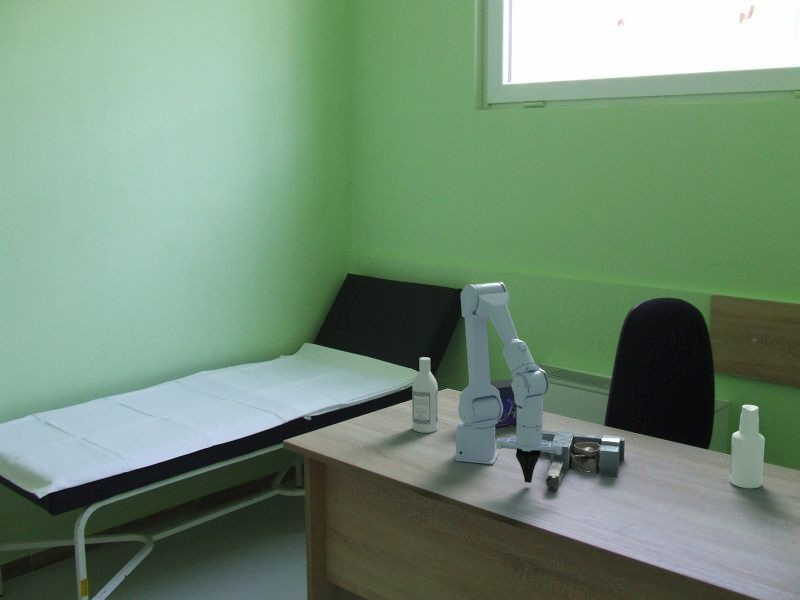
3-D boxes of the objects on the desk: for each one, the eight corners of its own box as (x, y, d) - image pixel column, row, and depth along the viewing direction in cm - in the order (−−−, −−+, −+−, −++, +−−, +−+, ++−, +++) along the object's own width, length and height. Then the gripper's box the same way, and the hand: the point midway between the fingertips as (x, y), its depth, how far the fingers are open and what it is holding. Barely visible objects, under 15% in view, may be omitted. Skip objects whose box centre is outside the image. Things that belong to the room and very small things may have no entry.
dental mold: (610, 469, 197) (611, 449, 196) (588, 474, 193) (588, 454, 193) (587, 458, 204) (588, 439, 203) (565, 463, 200) (566, 444, 200)
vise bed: (518, 466, 199) (518, 439, 198) (527, 448, 211) (527, 422, 210) (621, 476, 192) (622, 449, 190) (624, 457, 204) (625, 431, 203)
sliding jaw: (542, 491, 183) (542, 466, 182) (556, 453, 206) (556, 430, 205) (561, 493, 182) (561, 468, 181) (572, 455, 205) (573, 432, 204)
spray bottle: (760, 479, 189) (765, 403, 186) (762, 490, 183) (768, 412, 180) (728, 475, 192) (733, 401, 188) (729, 487, 185) (734, 410, 182)
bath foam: (427, 423, 231) (426, 354, 228) (443, 429, 226) (442, 358, 222) (407, 428, 227) (406, 358, 223) (423, 435, 222) (422, 362, 218)
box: (478, 431, 224) (479, 389, 222) (468, 424, 230) (468, 383, 228) (533, 423, 230) (534, 382, 228) (521, 416, 236) (522, 376, 234)
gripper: (493, 426, 183) (493, 484, 185) (560, 432, 178) (558, 491, 181) (499, 416, 189) (499, 472, 192) (563, 421, 185) (562, 479, 187)
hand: (528, 480), depth 187 cm, fingers closed
